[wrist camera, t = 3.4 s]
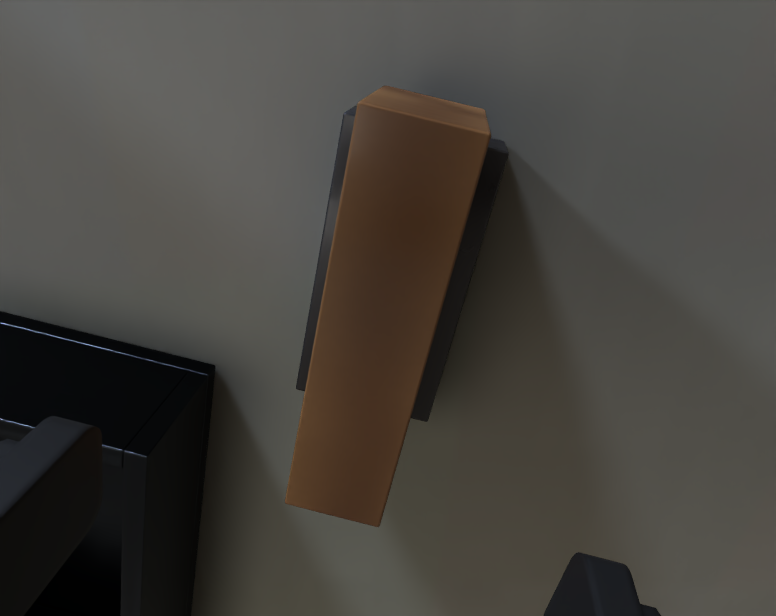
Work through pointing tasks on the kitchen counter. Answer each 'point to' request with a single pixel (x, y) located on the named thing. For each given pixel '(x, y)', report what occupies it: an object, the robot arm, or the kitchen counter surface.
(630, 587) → the robot arm
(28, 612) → the black open box
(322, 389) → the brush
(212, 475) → the kitchen counter surface
